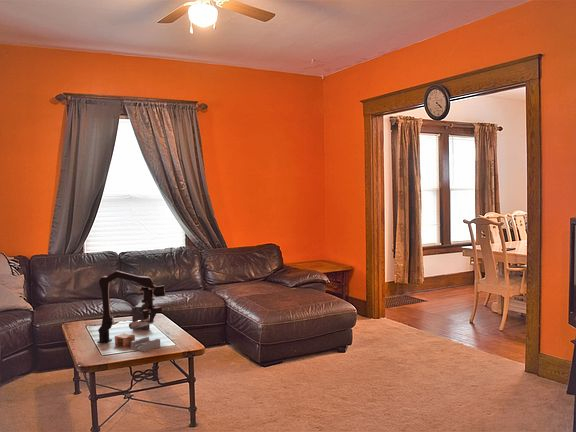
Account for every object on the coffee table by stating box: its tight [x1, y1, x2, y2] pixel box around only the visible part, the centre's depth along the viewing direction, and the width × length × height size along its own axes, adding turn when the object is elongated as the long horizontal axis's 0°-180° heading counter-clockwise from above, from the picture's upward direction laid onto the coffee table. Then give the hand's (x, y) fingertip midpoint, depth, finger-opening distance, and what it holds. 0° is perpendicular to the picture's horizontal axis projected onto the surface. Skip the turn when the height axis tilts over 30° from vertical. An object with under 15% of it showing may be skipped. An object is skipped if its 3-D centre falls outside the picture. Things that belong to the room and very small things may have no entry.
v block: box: [130, 336, 161, 352], centre depth 310 cm, size 12×11×4 cm
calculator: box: [131, 306, 151, 332], centre depth 353 cm, size 11×4×15 cm, turn 74°
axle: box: [128, 317, 155, 330], centre depth 325 cm, size 16×4×4 cm, turn 147°
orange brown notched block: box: [114, 333, 136, 349], centre depth 315 cm, size 7×9×6 cm
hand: (148, 322), depth 330 cm, fingers closed on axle, 4 cm apart
